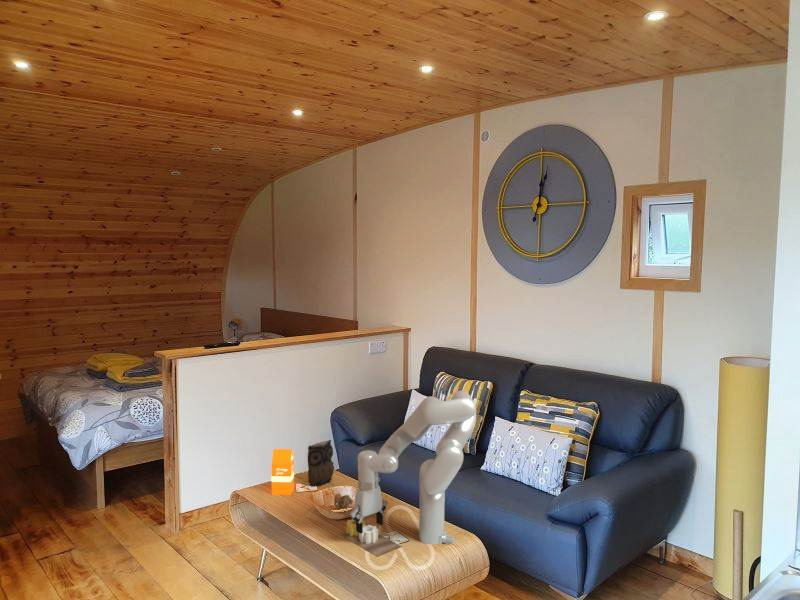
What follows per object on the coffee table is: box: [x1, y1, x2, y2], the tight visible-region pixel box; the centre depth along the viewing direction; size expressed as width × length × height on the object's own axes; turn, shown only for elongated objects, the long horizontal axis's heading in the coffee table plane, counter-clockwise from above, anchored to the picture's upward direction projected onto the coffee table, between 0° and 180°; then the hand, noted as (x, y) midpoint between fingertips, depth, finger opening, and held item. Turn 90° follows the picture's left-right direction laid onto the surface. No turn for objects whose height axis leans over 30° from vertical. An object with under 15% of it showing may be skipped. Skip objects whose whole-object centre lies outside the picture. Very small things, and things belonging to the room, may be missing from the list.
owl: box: [307, 439, 335, 488], centre depth 293 cm, size 13×13×20 cm
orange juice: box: [270, 448, 295, 496], centre depth 282 cm, size 8×9×20 cm
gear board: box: [337, 530, 403, 558], centre depth 232 cm, size 24×12×4 cm, turn 41°
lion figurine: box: [333, 493, 354, 510], centre depth 261 cm, size 15×5×9 cm, turn 35°
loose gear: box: [359, 524, 379, 544], centre depth 233 cm, size 7×7×4 cm
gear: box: [346, 518, 366, 536], centre depth 239 cm, size 7×7×4 cm
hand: (369, 528), depth 233 cm, fingers open, 9 cm apart
